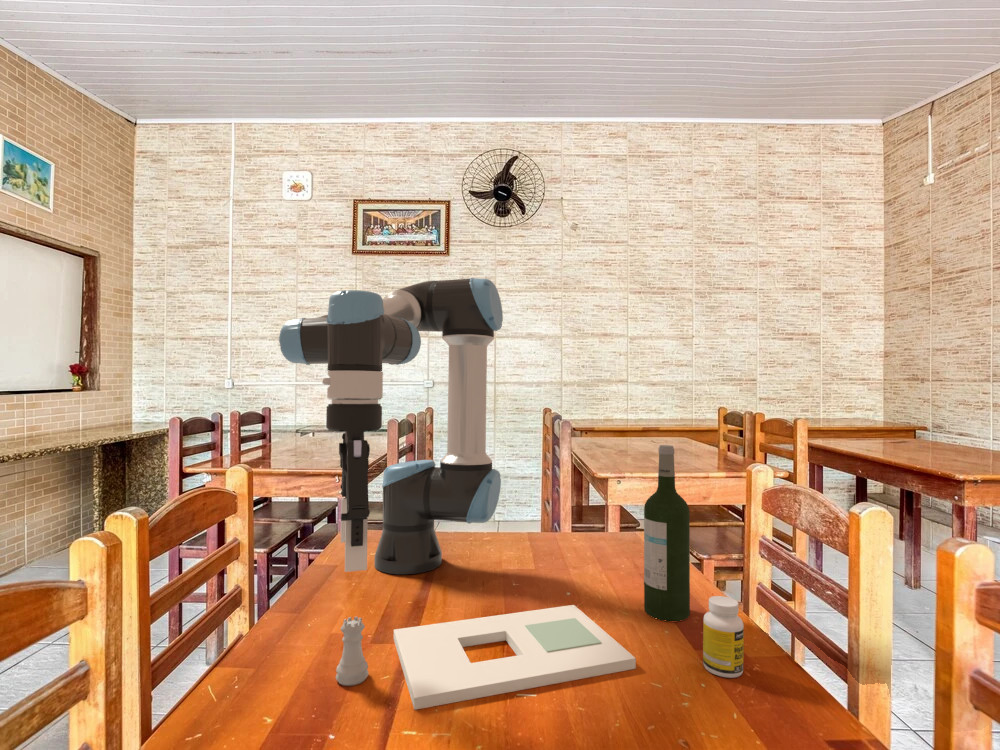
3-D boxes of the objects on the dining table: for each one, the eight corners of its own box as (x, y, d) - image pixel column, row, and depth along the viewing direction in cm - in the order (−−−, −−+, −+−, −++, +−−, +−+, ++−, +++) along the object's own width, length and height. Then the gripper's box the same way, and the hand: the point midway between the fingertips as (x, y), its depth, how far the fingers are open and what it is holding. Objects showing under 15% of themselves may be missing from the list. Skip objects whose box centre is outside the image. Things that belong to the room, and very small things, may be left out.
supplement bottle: (740, 683, 75) (740, 611, 75) (699, 672, 77) (699, 603, 78) (746, 666, 79) (746, 598, 79) (707, 656, 82) (707, 591, 82)
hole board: (393, 639, 87) (393, 628, 87) (573, 613, 97) (573, 603, 97) (414, 709, 68) (414, 696, 68) (635, 668, 78) (635, 656, 78)
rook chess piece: (374, 673, 77) (375, 616, 77) (356, 690, 73) (357, 629, 73) (347, 667, 78) (348, 611, 78) (328, 683, 74) (329, 624, 74)
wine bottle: (697, 612, 98) (696, 445, 98) (678, 626, 92) (677, 449, 93) (656, 600, 103) (656, 442, 104) (635, 613, 97) (635, 445, 98)
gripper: (325, 400, 87) (323, 533, 86) (328, 404, 63) (325, 588, 63) (373, 400, 89) (371, 530, 89) (393, 404, 65) (391, 581, 65)
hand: (352, 554), depth 76 cm, fingers open, 13 cm apart
